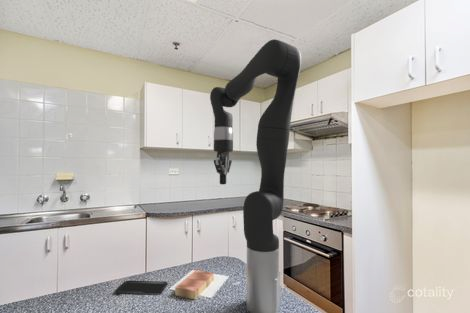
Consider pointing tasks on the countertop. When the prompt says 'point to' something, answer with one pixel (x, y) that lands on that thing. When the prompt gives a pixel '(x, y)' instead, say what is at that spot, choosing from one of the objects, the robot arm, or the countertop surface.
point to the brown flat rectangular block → (194, 284)
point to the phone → (141, 288)
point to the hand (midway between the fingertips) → (223, 184)
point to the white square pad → (211, 288)
